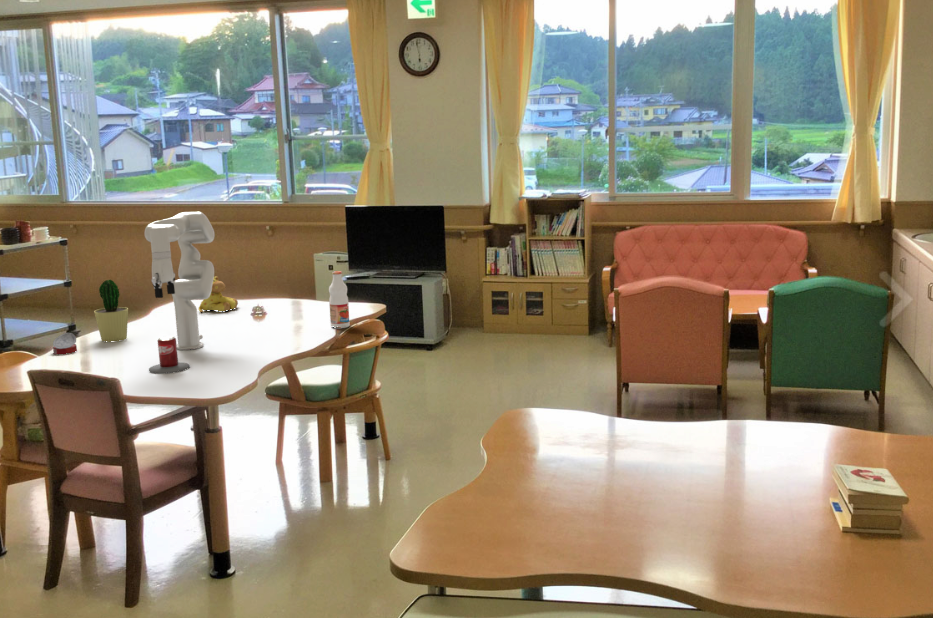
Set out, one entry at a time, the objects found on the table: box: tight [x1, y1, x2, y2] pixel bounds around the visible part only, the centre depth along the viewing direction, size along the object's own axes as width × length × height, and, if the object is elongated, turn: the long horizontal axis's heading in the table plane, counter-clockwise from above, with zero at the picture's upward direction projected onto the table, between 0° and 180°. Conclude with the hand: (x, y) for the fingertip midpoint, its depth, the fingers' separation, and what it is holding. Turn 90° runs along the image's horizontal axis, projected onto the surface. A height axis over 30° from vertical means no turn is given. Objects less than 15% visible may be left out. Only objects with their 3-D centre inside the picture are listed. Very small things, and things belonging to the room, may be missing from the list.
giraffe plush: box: [197, 275, 239, 313], centre depth 493 cm, size 20×24×19 cm
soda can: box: [157, 336, 179, 369], centre depth 358 cm, size 7×7×12 cm
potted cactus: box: [93, 279, 129, 343], centre depth 418 cm, size 15×15×30 cm
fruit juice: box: [328, 270, 351, 329], centre depth 433 cm, size 9×9×28 cm
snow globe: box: [52, 332, 78, 355], centre depth 396 cm, size 11×10×10 cm
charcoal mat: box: [148, 361, 190, 374], centre depth 359 cm, size 16×16×1 cm
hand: (165, 295), depth 368 cm, fingers open, 9 cm apart
